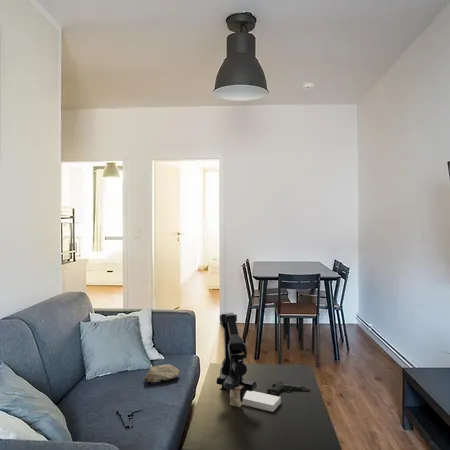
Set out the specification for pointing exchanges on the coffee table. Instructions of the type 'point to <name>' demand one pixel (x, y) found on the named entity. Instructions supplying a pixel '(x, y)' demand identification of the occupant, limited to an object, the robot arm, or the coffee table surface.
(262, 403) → the panel
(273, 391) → the handgun
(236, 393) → the brown and pink block
